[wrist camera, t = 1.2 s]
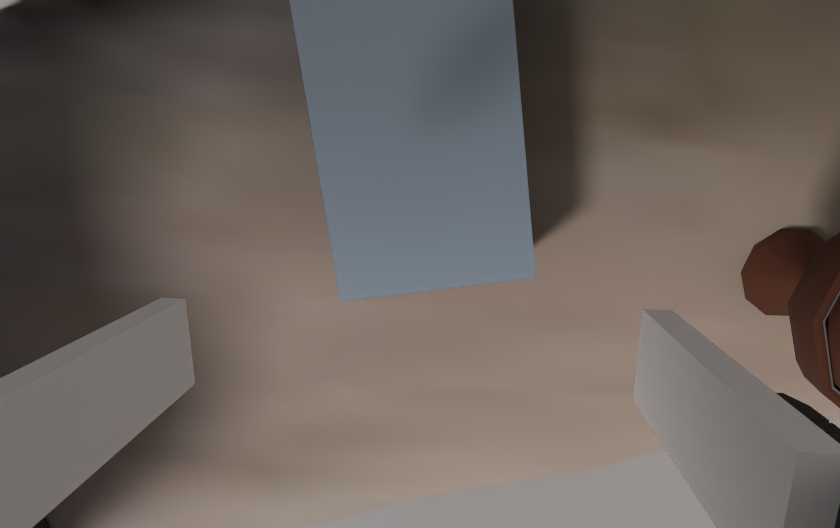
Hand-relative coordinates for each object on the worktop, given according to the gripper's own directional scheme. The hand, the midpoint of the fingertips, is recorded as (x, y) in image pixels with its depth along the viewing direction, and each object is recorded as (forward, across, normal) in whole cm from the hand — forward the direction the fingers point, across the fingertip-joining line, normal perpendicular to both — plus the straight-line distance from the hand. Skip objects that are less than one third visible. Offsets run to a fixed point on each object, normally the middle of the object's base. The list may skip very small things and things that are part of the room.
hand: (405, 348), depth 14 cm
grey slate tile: (+16, +1, -7) cm, 18 cm away
